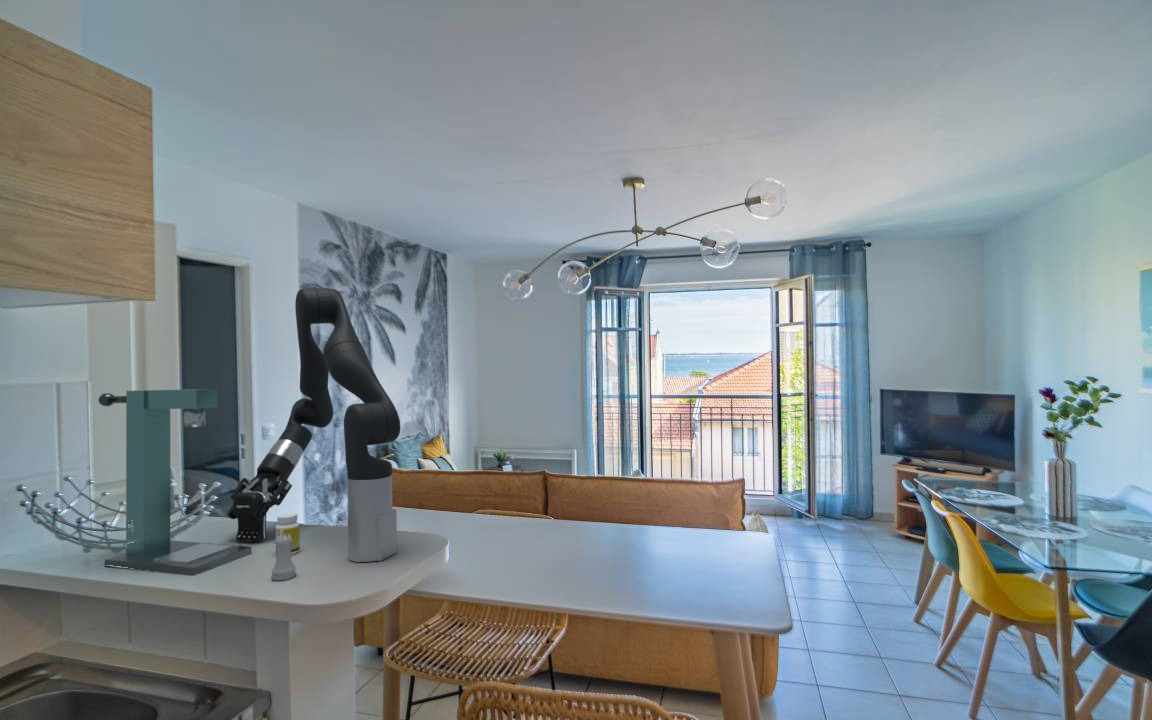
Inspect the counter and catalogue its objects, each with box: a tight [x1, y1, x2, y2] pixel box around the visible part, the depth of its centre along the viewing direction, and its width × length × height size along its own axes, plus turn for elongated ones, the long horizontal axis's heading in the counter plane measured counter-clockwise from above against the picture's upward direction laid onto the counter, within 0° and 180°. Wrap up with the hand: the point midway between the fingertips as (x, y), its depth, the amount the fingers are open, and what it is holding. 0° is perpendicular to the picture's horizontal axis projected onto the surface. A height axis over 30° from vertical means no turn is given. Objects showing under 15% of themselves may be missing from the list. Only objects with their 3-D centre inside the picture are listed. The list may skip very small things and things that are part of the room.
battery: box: [232, 491, 267, 542], centre depth 134 cm, size 7×4×11 cm, turn 79°
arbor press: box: [98, 388, 252, 576], centre depth 124 cm, size 35×14×37 cm, turn 75°
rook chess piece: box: [270, 535, 297, 582], centre depth 110 cm, size 4×4×8 cm
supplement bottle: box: [275, 512, 301, 556], centre depth 125 cm, size 5×5×8 cm
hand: (243, 518), depth 133 cm, fingers closed on battery, 7 cm apart
